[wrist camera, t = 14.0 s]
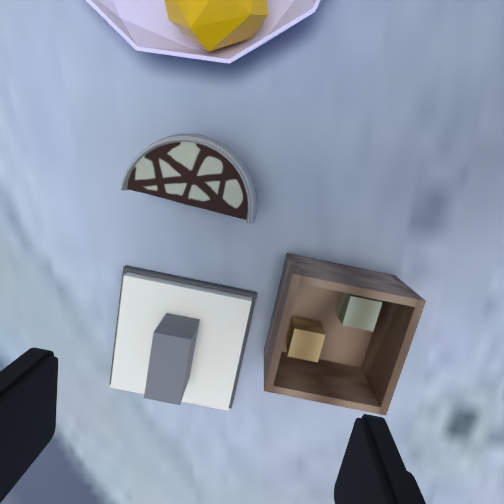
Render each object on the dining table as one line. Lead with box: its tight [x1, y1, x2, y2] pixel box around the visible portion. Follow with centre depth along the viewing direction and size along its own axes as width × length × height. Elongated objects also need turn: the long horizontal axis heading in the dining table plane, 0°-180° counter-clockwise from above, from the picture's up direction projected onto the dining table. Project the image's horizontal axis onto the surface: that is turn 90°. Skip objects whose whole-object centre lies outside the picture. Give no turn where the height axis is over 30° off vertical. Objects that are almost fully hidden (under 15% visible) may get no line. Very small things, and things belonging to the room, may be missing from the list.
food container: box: [121, 134, 257, 223], centre depth 34 cm, size 12×6×10 cm, turn 75°
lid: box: [111, 272, 252, 411], centre depth 40 cm, size 15×15×6 cm
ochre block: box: [286, 316, 325, 362], centre depth 41 cm, size 4×4×4 cm
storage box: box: [264, 253, 426, 415], centre depth 39 cm, size 13×13×8 cm
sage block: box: [336, 292, 382, 332], centre depth 40 cm, size 4×4×4 cm
